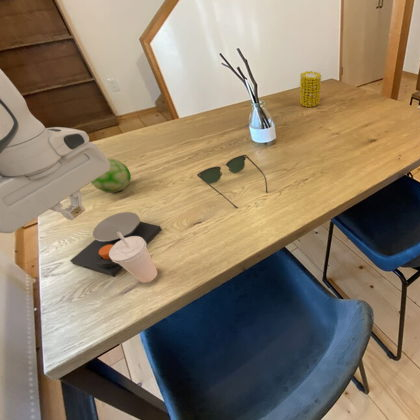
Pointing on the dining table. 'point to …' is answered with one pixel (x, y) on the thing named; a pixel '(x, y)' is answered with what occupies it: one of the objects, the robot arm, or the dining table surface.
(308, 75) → the food
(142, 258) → the smoothie
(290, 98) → the dining table surface
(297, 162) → the dining table surface
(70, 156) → the robot arm
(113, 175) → the decorative ball
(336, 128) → the dining table surface
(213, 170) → the sunglasses
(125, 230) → the scale pan
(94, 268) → the scale
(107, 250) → the tare button
